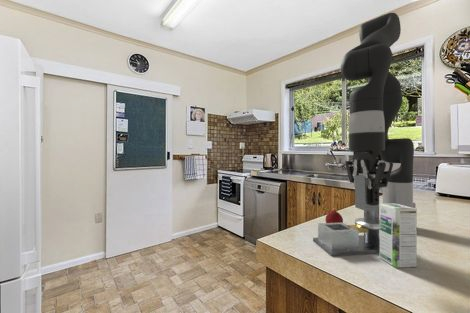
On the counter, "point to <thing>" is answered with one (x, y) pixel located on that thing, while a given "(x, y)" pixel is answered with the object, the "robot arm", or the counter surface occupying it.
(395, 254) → the syrup box
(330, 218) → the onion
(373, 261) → the counter surface
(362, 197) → the grey rectangular block
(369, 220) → the bracket stand
